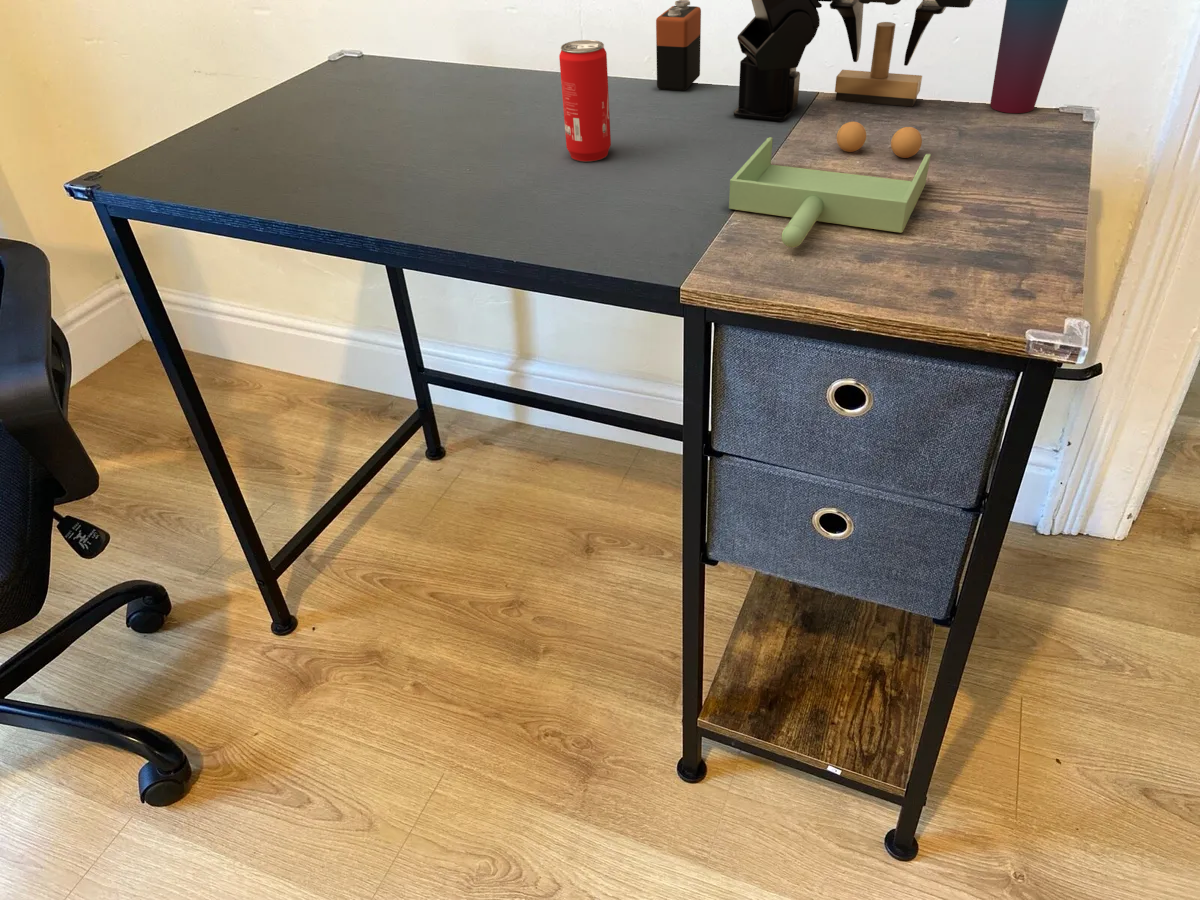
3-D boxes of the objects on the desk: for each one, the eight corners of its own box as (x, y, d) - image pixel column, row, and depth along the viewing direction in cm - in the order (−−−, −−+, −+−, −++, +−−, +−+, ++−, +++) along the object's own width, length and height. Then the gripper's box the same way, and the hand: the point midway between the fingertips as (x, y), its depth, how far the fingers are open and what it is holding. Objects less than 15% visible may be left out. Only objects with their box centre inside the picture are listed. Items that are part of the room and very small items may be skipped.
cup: (1046, 116, 104) (1083, -25, 94) (986, 115, 105) (1016, -24, 96) (1036, 97, 109) (1070, -38, 100) (978, 97, 110) (1007, -37, 101)
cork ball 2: (886, 160, 96) (890, 131, 94) (892, 150, 99) (896, 121, 96) (916, 163, 95) (921, 134, 93) (921, 153, 97) (926, 124, 95)
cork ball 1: (831, 154, 99) (835, 125, 97) (839, 144, 101) (842, 116, 99) (860, 157, 97) (864, 128, 95) (867, 147, 100) (871, 118, 98)
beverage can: (568, 147, 105) (560, 40, 97) (611, 145, 104) (606, 38, 97) (565, 164, 101) (556, 53, 93) (610, 162, 100) (605, 51, 93)
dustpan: (766, 165, 97) (768, 136, 95) (925, 184, 91) (930, 154, 89) (700, 244, 83) (701, 212, 81) (882, 273, 77) (888, 239, 75)
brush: (833, 100, 113) (841, 24, 107) (839, 93, 115) (847, 18, 109) (913, 107, 109) (926, 29, 103) (918, 100, 111) (931, 23, 105)
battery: (700, 76, 123) (702, -2, 117) (686, 91, 119) (686, 11, 112) (671, 75, 125) (671, -3, 119) (655, 89, 120) (654, 10, 114)
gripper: (799, -71, 97) (788, 76, 107) (978, -68, 90) (948, 88, 100) (825, -88, 105) (813, 51, 114) (992, -86, 98) (963, 61, 108)
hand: (880, 63), depth 109 cm, fingers open, 6 cm apart
